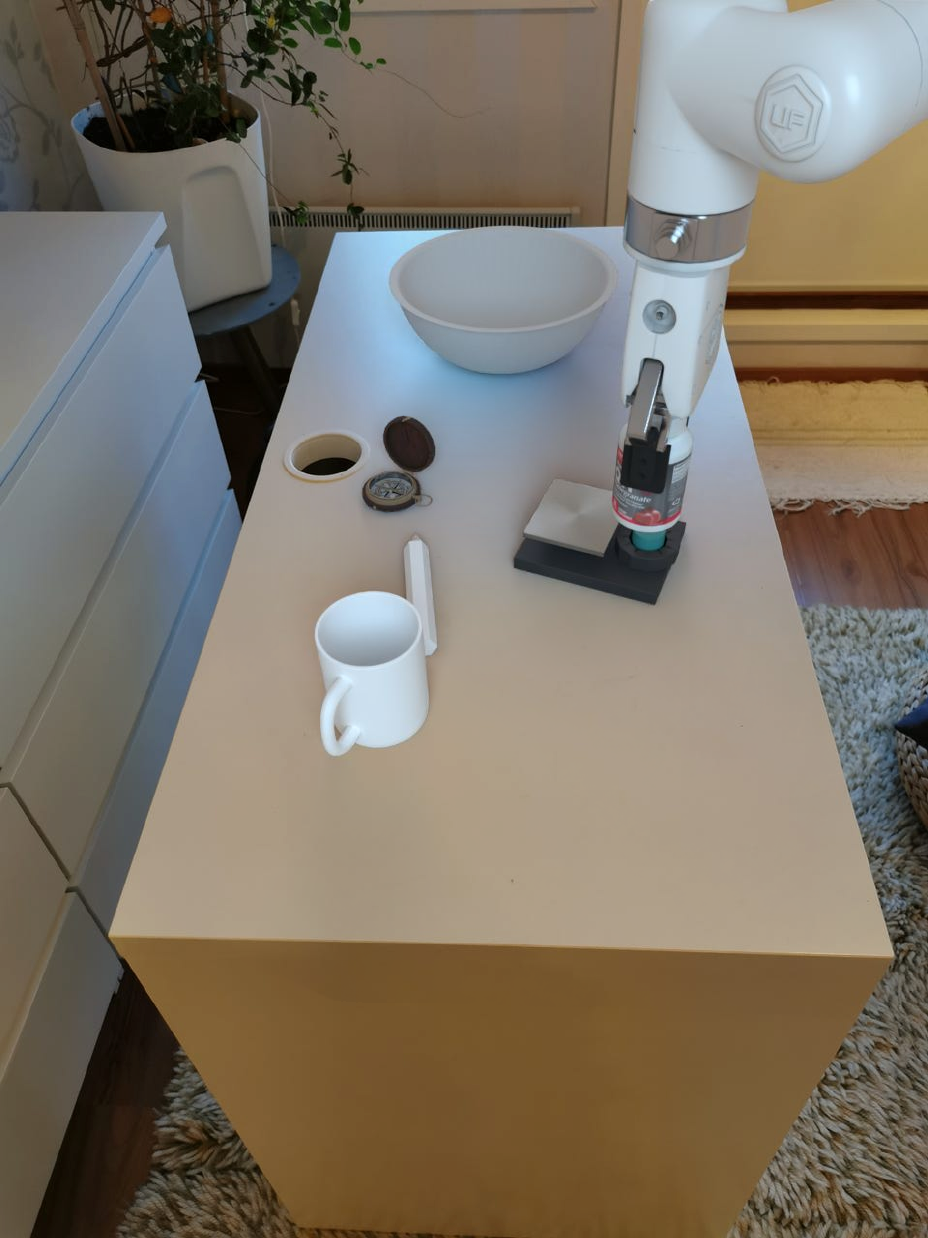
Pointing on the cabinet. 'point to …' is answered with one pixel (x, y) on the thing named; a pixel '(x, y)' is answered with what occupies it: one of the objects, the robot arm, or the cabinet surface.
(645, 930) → the cabinet surface
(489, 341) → the bowl
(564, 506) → the pan
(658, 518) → the pill bottle
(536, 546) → the scale
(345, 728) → the cup
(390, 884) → the cabinet surface
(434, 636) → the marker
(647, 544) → the button
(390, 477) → the compass
